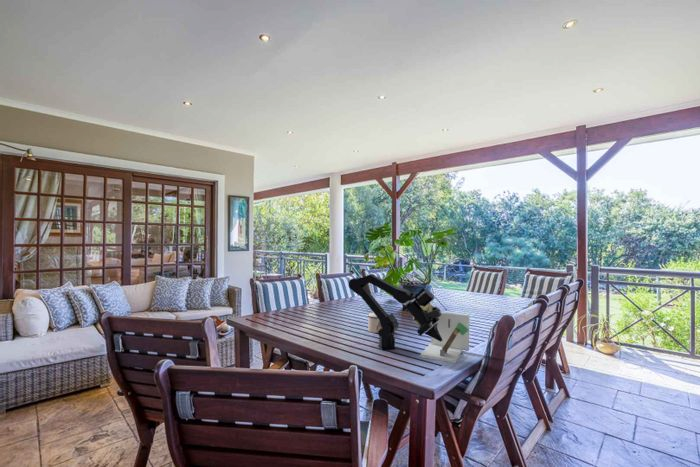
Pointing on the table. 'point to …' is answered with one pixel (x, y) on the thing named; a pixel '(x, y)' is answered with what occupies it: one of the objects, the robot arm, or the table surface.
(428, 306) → the cantaloupe
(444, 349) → the lever
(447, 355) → the gauge base
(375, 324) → the teacup with lid
